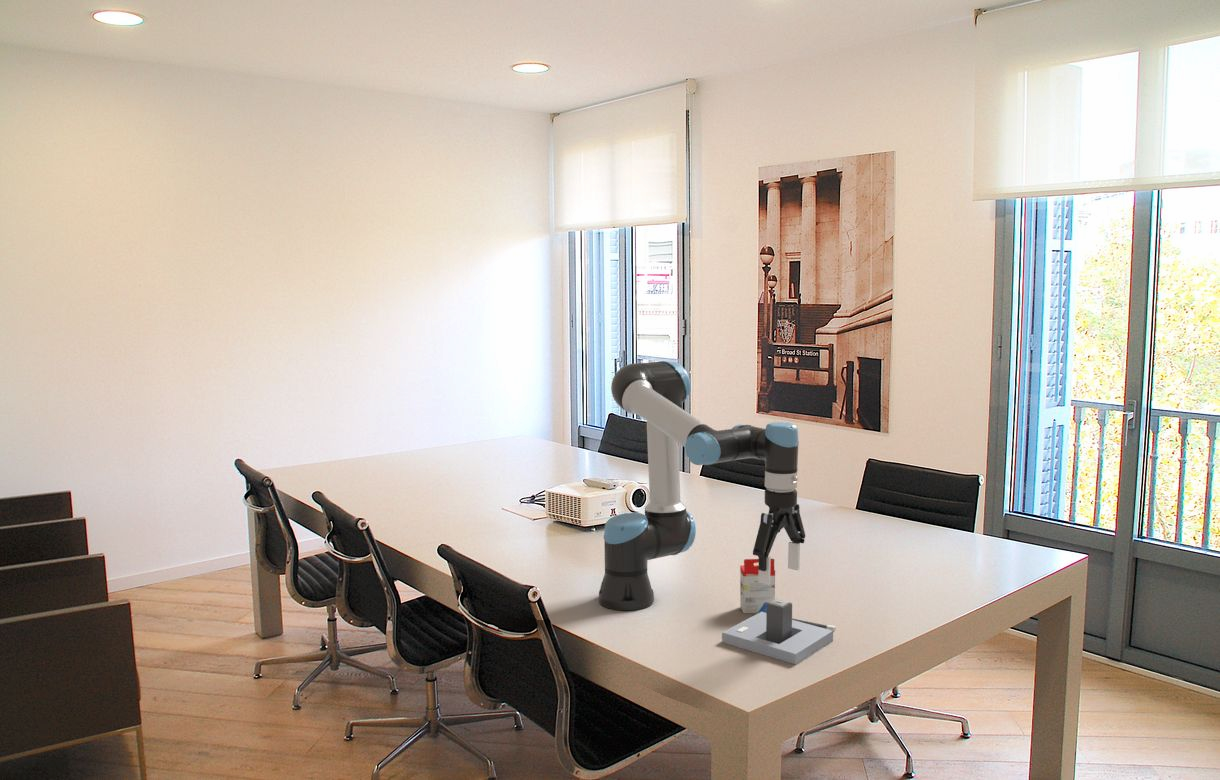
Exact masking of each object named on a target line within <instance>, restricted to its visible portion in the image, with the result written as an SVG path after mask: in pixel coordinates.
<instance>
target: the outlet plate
mask: <svg viewBox="0 0 1220 780" xmlns="http://www.w3.org/2000/svg"><path fill="white" fill-rule="evenodd" d="M831 642H834V631H832V630H829V629H825V628H821V627H817V626H814V625H810V624H806V623H803V622H799V621H795V620H792V637H790V638H789V639H787V640H785V641H784V642H782V643H780V644H777V643H773V642H770V641H766V613H765V612H760V613H755V615H753V616H750V617H749V618H747V619H745V620H742V621H741V622H739V623H738V624H735V625H733V626H732V627H730V628H727V629H726V630H724V631H722V632H721V643H724V644H727V645H731V646H733V647H735V648H740V649H743V650H747V651H749V652H753V653H756V654H758V655H759V654H760V655H763V656H766V657H770V658H773V659H776V660H779V661H782V662H787V663H789V664H792V665H794V666H795V665H798V664H800V662H802V661H804V660H805V659H807V658H808V657H810V656H812V655H813V654H814V653H816V652H818V651H819V650H821V649H823V648H824V647H825V646H827V645H829V644H831Z"/></svg>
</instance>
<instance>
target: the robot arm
mask: <svg viewBox="0 0 1220 780" xmlns="http://www.w3.org/2000/svg"><path fill="white" fill-rule="evenodd" d="M691 383H692V382H691V380H690V377H689V374H688V372H687V371H686V369H685V367H684V366H682V365H681V364H680V363H678V362H675V361H668V360H667V361H665V360H663V361H661V360H660V361H652V362H639V363H635V362H633V363H630V364H627V365H624V366H622V367H621V368H619V369H618V370H617V372H616V373H615V374H614V375H613V378H612V381H611V387H610V389H611V395H612V397H613V400H614V402H615V403H616V404H617V405H618V407H620V408H621V409H623V410H624V411H625V412H627V413H628V414H631V415H638V416H639V417H641V418H642V419H643V420H645V421H646V438H647V439H646V440H647V462H648V463H647V464H648V490H649V492H648V493H649V502H648V503H647V505H646V506H644V514H643V513H640V512H629V513H628V512H626V513H625V512H623V513H620V514H617V515H614V516H612V517H610V518H609V519H607V520H606V522H605V524H604V532H603V533H604V534H603V541H604V575H603V578H602V581H601V584H600V588H599V591H598V603H599V604H600V605H601V606H602V607H605V608H607V609H611V610H614V611H615V610H616V611H637V610H643V609H645V608H648V607H650V606H652V605H653V604H654V602H655V594H654V590H653V588H652V585H651V581H650V577H649V575H648V561H650V560H655V559H660V558H663V557H669V556H676V555H679V554H681V553H685V552H687V551H688V550H689V549H690V548H691V547H692V545H693V544H694V542H695V540H696V534H697V527H696V523H695V520H693V519H694V517H693V516H692V513H690V512H689V511H687V506H686V505H685V504H684V503H683V502H682V501H681V481H680V480H681V477H680V476H681V475H680V453H679V452H680V451H679V450H680V449H679V447H680V446H679V445H681V446H682V447H683V448H684V452H685V456H687V457H688V460H689V462H691V463H692V464H693V465H695V466H703V465H704V466H710V465H714V464H718V463H726V462H732V461H737V460H739V461H740V460H746V459H756V460H760V461H764V464H765V465H764V467H765V468H764V487H765V489H764V504H765V506H767V507H768V512H767V513H766V512H765V513H764V512H761V515H760V523H759V527H758V529H757V535H756V539H755V543H754V546H753V550H752V555H753V556H756V557H758V559H759V562H758V565H759V567H758V568H759V576H758V582H759V583H763V584H767V585H769V584H770V565H771V559H772V558H771V556H769V555H770V554H771V553H770V552H771V550H772V548H773V546H774V543H775V540H776V538H777V535H778V533H780V532H781V530H783V529H784V530H785V532H786V534H787V536H788V538H789V540H790V541H789V542H788V543H787V544H788V549H787V550H788V552H787V554H788V555H787V559H788V560H787V569H789V570H794V571H799V570H800V565H801V564H800V559H801V558H800V555H801V554H800V551H801V544H805V538H806V532H805V528H804V523H803V520H802V516H801V513H800V504H798V491H797V487H798V481H799V478H798V470H799V469H798V463H799V462H798V461H799V460H798V459H799V444H800V441H799V429H798V427H797V425H796V424H794V423H791V422H782V421H775V422H769V423H768V424H766V426H765V428H762V427H757V426H754V425H751V424H736V425H735V426H733V427H731V428H730V429H721V430H717V429H714V428H712V427H710V426H709V425H707V424H705V422H703V421H701V420H700V419H698V418H696V417H695V416H693V414H690V413H689V412H687V411H686V410H684V409H683V403H684V402H685V401H687V400H688V399H689V397H690V396H689V395H690V394H691V391H692V389H691V388H692V387H691V386H692V385H691Z"/></svg>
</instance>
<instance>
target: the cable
mask: <svg viewBox="0 0 1220 780" xmlns="http://www.w3.org/2000/svg"><path fill="white" fill-rule="evenodd" d="M792 620H795V621H799V622H803V623H806V624H810V625H814V626H817V627H821V628H825V629H829V630H832V631H833V632H835V631H836V630H837V626H836V625H831V624H828V625H827V624H821V623H816V622H813V621H806V620H802V619H797V618H796V619H795V618H793V617H792Z"/></svg>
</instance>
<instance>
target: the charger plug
mask: <svg viewBox="0 0 1220 780" xmlns="http://www.w3.org/2000/svg"><path fill="white" fill-rule="evenodd" d="M792 618H793V603H792V602H791V601H788V600H784V599H781V598H775V600H773V601H771V602H769V603H768V604H767V613H766V641H770V642H773V643H777V644H780V643H782V642H784V641H785V640H787V639H789V638H790V637H792Z"/></svg>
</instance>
